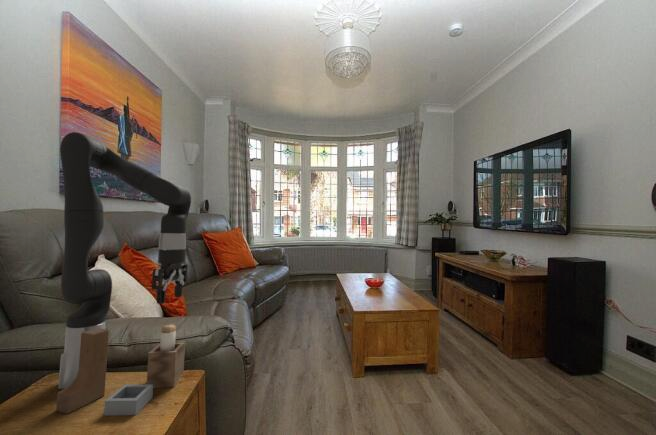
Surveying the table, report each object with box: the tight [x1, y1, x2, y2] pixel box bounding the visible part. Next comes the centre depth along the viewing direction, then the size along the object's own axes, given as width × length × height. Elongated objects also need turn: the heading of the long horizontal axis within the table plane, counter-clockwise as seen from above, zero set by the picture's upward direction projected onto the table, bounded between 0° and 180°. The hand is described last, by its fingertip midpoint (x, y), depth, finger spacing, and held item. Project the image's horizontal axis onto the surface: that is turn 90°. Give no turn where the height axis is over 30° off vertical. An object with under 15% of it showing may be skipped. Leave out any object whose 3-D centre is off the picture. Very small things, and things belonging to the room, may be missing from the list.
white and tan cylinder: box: [159, 323, 177, 351], centre depth 88 cm, size 4×4×9 cm
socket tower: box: [146, 342, 186, 389], centre depth 88 cm, size 8×8×10 cm
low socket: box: [103, 383, 154, 416], centre depth 75 cm, size 8×8×4 cm
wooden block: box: [55, 328, 110, 415], centre depth 76 cm, size 9×4×18 cm, turn 162°
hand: (169, 300), depth 89 cm, fingers open, 8 cm apart
